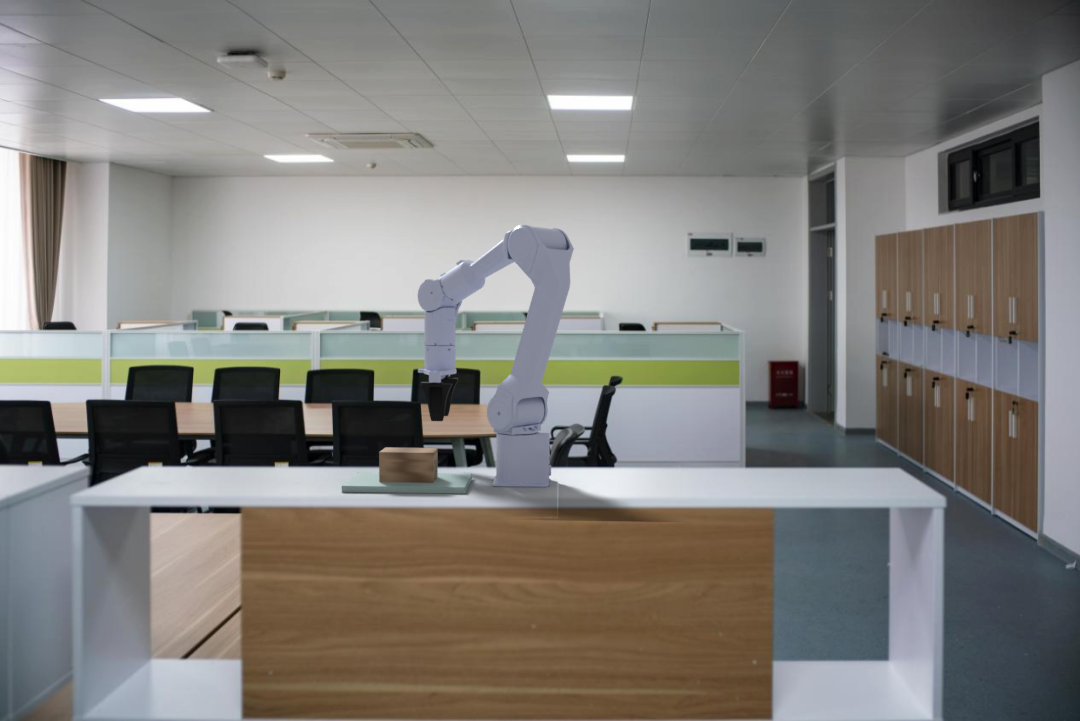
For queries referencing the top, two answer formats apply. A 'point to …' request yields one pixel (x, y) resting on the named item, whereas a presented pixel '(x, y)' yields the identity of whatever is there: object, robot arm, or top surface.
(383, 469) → the box
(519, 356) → the robot arm
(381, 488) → the pin board
